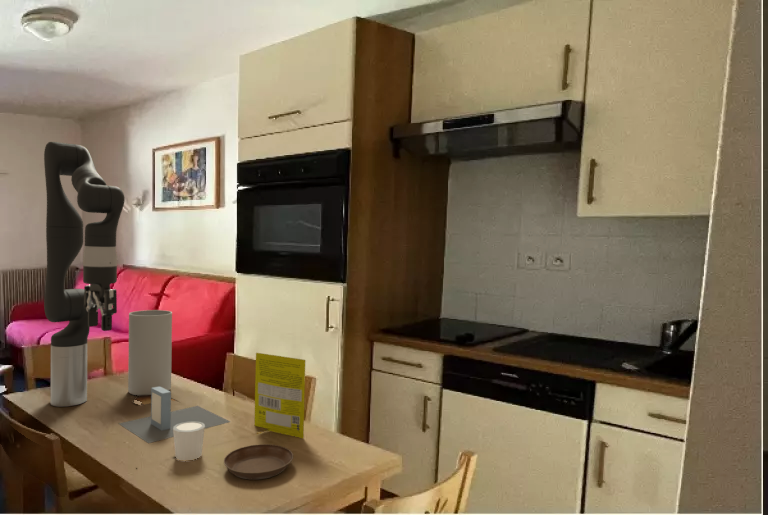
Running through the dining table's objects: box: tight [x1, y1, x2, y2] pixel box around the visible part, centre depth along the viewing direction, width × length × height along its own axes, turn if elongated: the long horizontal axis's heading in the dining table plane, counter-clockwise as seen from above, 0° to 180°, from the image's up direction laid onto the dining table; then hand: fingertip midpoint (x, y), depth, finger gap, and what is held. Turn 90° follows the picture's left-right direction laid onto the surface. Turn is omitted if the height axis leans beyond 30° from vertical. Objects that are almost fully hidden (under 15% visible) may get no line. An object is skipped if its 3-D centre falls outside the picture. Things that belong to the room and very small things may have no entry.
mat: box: [118, 405, 231, 444], centre depth 141 cm, size 18×22×1 cm
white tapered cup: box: [173, 421, 206, 461], centre depth 122 cm, size 7×7×7 cm
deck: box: [150, 386, 172, 430], centre depth 138 cm, size 6×2×10 cm, turn 47°
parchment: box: [134, 395, 180, 406], centre depth 156 cm, size 25×10×1 cm, turn 47°
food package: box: [253, 352, 306, 439], centre depth 137 cm, size 15×1×20 cm, turn 65°
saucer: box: [223, 443, 294, 481], centre depth 117 cm, size 15×15×3 cm
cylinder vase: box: [127, 309, 173, 397], centre depth 170 cm, size 12×12×25 cm
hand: (99, 328), depth 136 cm, fingers open, 8 cm apart
